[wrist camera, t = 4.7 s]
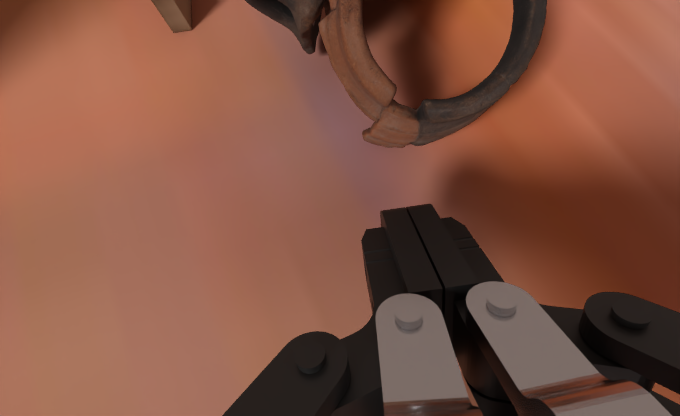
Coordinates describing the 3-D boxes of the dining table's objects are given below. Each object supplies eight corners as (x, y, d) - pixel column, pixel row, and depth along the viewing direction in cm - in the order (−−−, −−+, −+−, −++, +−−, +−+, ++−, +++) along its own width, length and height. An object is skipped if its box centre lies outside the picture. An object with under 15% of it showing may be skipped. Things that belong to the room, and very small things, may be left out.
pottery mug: (475, -16, 19) (608, -117, 11) (437, 155, 21) (527, 172, 13) (253, -76, 17) (222, -255, 9) (233, 120, 19) (192, 114, 11)
